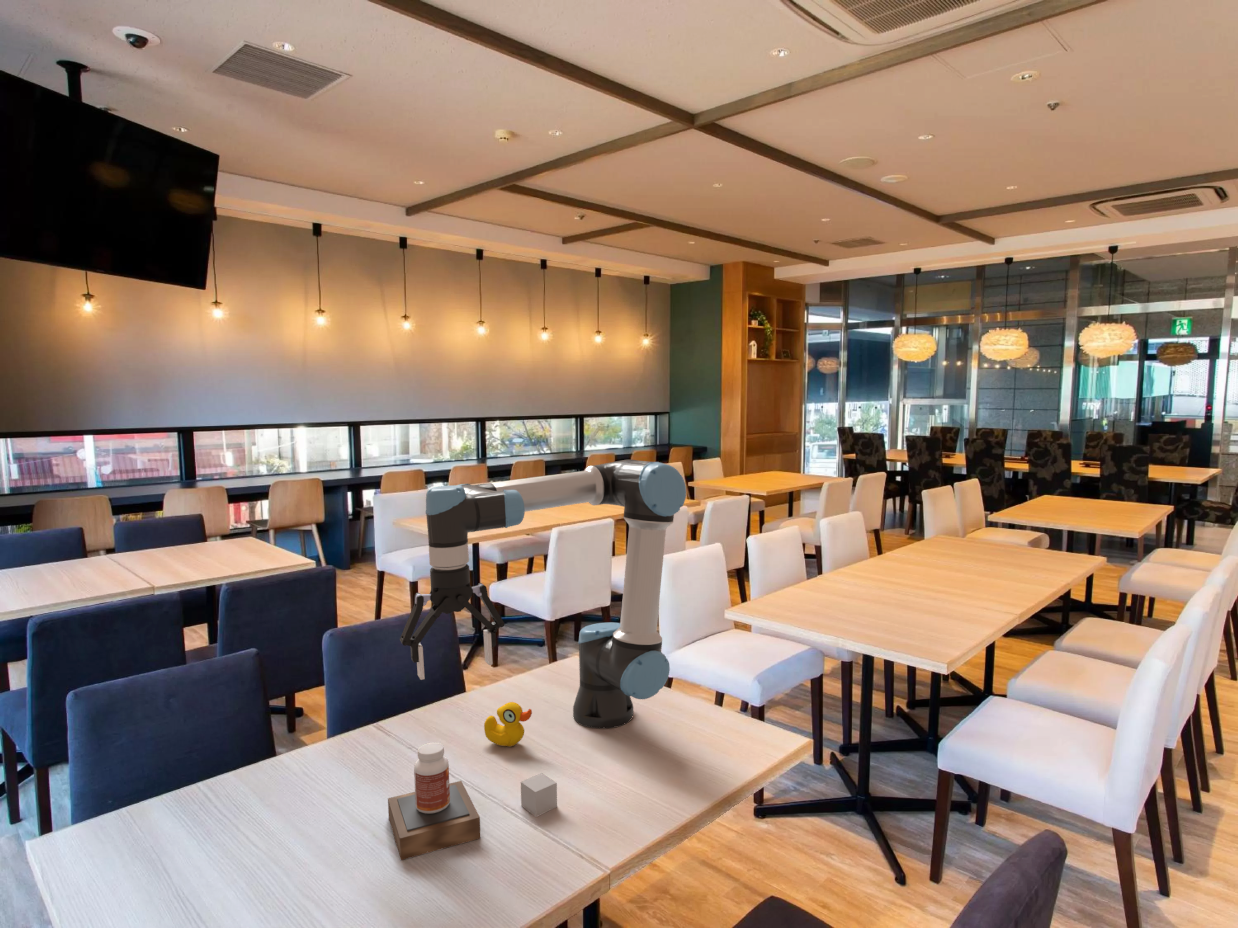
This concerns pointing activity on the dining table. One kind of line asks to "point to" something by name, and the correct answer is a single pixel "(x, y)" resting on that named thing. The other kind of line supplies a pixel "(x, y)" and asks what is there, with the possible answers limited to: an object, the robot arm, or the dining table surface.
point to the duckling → (507, 725)
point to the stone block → (538, 794)
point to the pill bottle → (431, 779)
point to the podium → (433, 823)
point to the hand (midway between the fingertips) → (455, 669)
